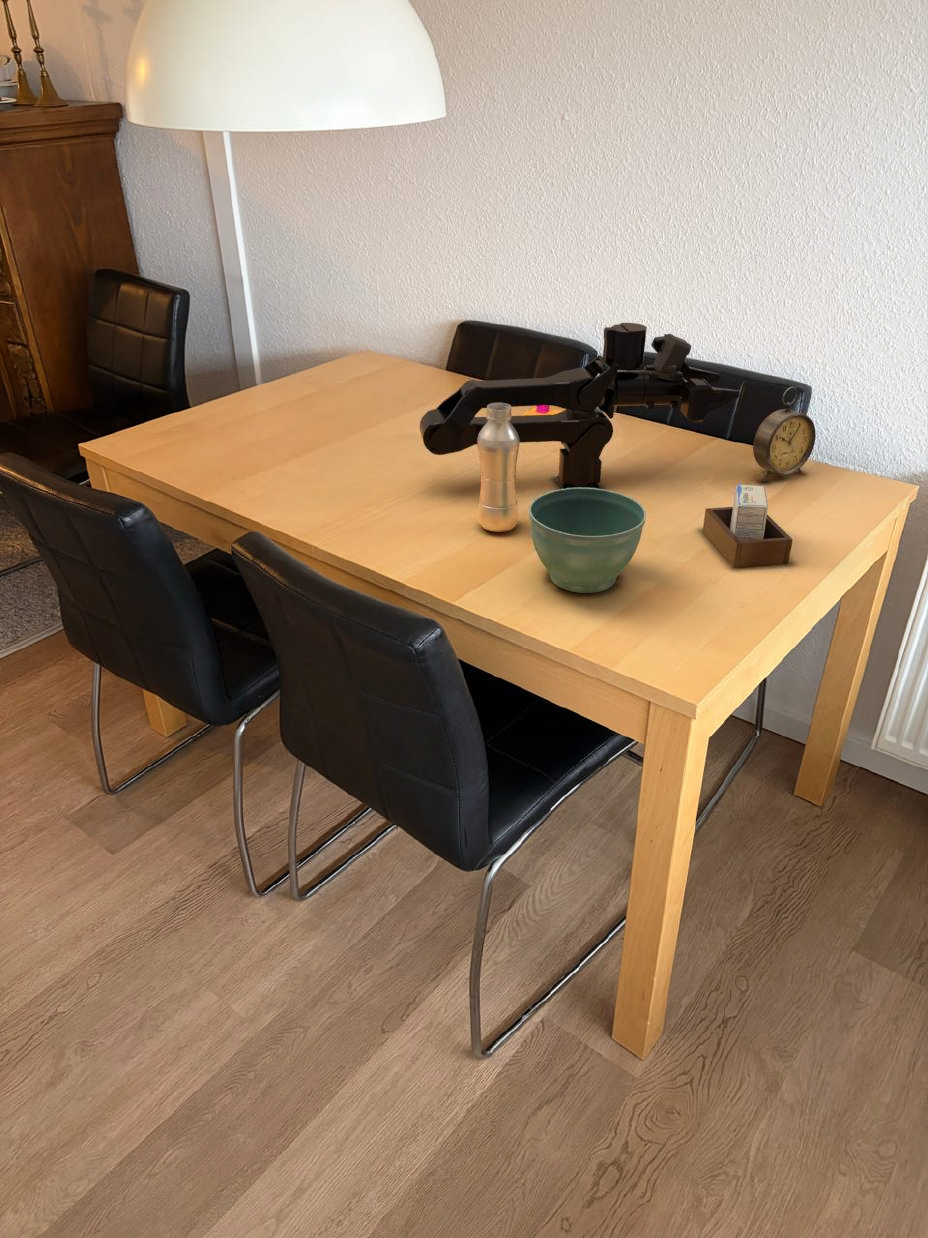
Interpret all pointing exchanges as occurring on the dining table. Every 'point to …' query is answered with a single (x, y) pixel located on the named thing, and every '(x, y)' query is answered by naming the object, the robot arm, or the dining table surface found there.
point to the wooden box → (749, 551)
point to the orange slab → (542, 411)
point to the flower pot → (585, 536)
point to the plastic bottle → (498, 470)
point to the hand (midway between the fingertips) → (729, 385)
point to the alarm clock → (784, 441)
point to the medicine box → (749, 512)
